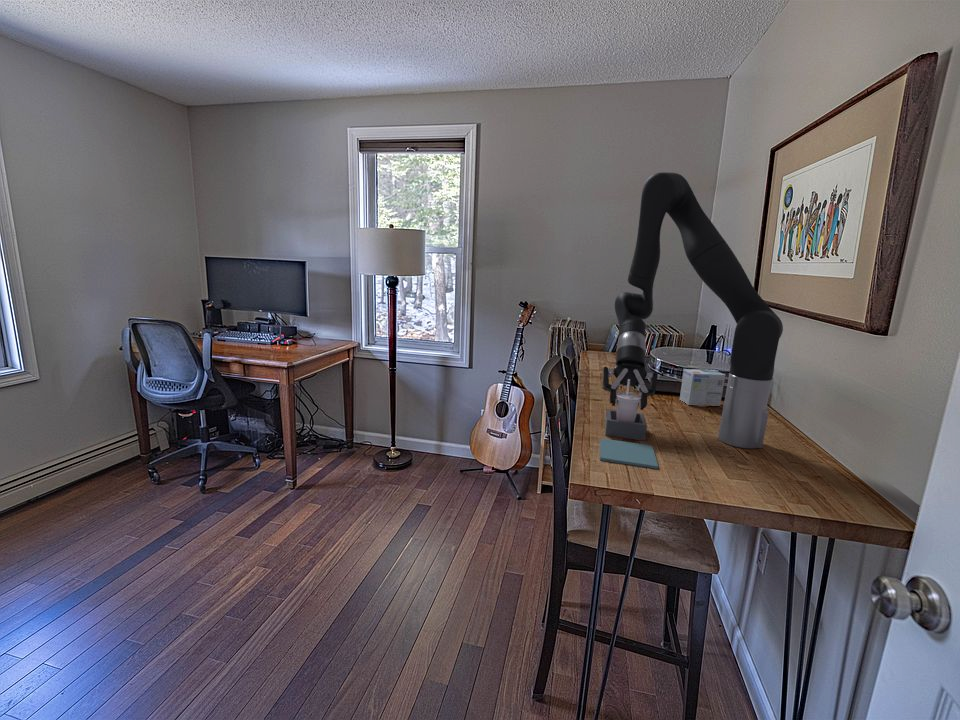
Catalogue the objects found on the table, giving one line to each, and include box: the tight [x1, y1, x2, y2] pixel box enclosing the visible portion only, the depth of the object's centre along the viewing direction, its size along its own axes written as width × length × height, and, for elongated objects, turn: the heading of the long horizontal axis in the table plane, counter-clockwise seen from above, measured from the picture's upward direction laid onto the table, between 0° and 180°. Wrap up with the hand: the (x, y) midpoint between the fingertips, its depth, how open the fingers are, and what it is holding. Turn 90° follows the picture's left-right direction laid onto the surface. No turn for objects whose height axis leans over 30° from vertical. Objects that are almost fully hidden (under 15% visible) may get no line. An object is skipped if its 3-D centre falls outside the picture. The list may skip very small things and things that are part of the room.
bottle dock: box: [604, 408, 648, 441], centre depth 120 cm, size 10×10×4 cm
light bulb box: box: [679, 368, 726, 407], centre depth 149 cm, size 11×7×11 cm, turn 94°
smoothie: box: [615, 379, 641, 422], centre depth 119 cm, size 6×6×14 cm
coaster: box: [599, 437, 659, 470], centre depth 106 cm, size 12×12×1 cm
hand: (627, 406), depth 118 cm, fingers closed on smoothie, 6 cm apart
